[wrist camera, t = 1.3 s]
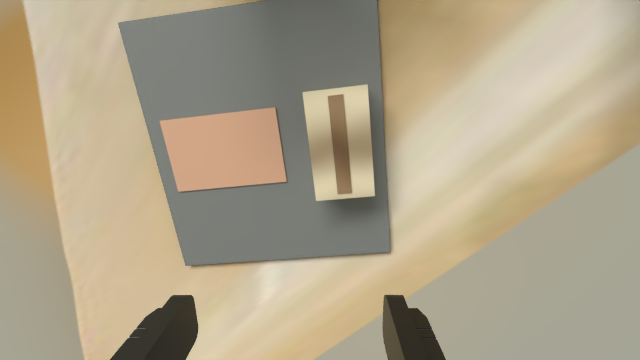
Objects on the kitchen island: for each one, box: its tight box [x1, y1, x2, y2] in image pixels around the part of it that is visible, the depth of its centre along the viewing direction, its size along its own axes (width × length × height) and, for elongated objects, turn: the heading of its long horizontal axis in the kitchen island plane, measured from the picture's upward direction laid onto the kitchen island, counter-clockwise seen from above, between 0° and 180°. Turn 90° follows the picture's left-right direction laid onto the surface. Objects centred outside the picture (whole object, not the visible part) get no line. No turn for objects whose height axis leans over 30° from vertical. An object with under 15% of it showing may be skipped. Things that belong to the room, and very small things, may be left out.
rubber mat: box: [118, 0, 390, 266], centre depth 28 cm, size 24×22×1 cm
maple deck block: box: [302, 84, 375, 201], centre depth 25 cm, size 9×5×4 cm, turn 7°
